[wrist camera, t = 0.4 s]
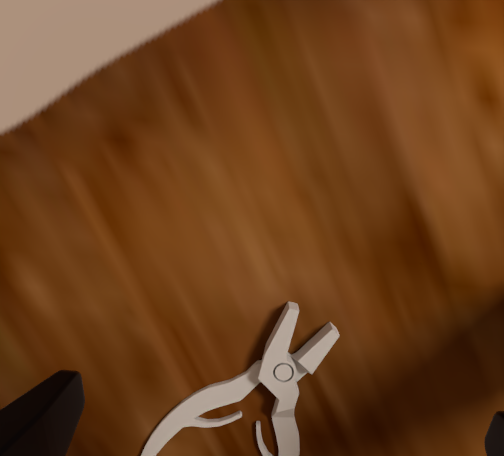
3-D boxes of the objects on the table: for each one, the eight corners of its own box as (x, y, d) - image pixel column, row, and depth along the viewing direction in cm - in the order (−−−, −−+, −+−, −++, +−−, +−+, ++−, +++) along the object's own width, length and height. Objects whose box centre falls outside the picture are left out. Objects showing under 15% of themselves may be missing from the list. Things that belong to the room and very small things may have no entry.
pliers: (127, 478, 26) (242, 279, 24) (135, 460, 27) (244, 272, 25) (263, 548, 26) (388, 360, 24) (263, 527, 28) (380, 348, 26)
